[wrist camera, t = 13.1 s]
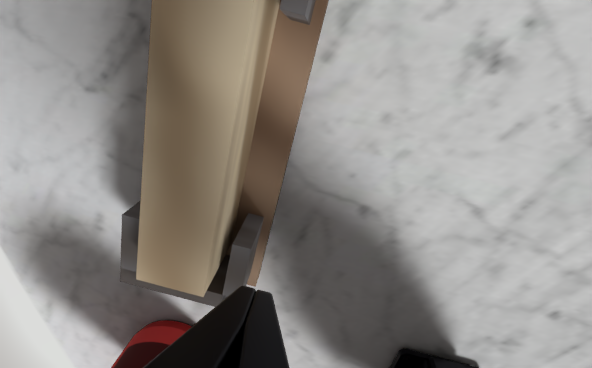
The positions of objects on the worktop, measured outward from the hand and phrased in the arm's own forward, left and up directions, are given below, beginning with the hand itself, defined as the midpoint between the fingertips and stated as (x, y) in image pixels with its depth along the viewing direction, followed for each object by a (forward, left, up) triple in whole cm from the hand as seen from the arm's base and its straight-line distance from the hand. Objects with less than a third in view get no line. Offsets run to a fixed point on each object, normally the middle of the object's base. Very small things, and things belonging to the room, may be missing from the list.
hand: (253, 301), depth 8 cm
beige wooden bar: (+2, +4, -11) cm, 12 cm away
